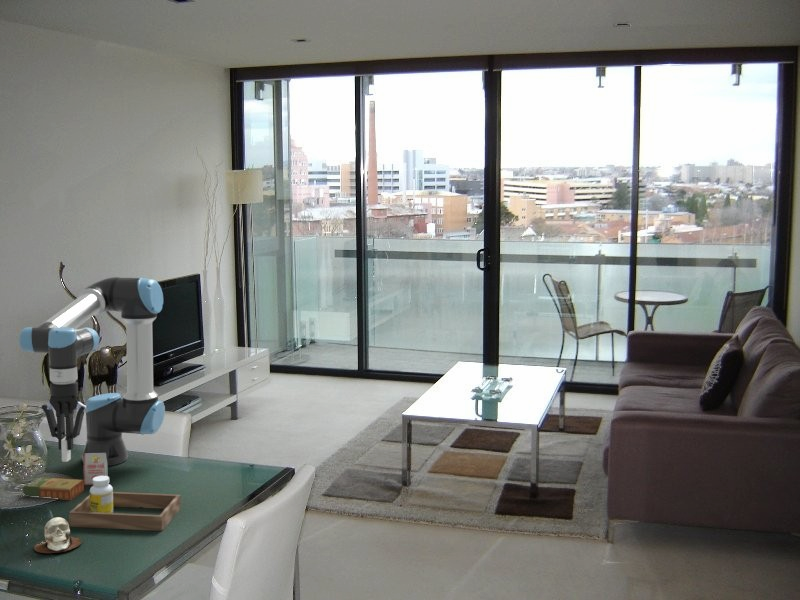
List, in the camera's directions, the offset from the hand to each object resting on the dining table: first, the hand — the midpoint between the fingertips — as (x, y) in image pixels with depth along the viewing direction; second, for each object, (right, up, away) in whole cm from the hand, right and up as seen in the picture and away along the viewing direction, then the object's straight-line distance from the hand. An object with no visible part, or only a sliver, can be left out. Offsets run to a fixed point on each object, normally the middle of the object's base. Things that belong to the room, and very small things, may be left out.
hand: (66, 460), depth 254 cm
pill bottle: (+10, -17, +2) cm, 20 cm away
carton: (-11, -15, +19) cm, 26 cm away
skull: (+5, -20, -18) cm, 28 cm away
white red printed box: (-1, -13, +29) cm, 32 cm away
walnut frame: (+17, -17, +2) cm, 24 cm away
